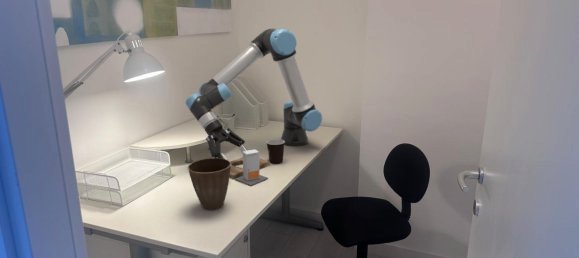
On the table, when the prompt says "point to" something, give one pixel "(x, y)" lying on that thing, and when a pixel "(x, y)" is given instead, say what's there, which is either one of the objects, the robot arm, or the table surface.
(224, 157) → the robot arm
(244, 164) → the skincare box
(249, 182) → the coaster
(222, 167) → the plant pot
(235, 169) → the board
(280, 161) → the coffee mug
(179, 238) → the table surface
